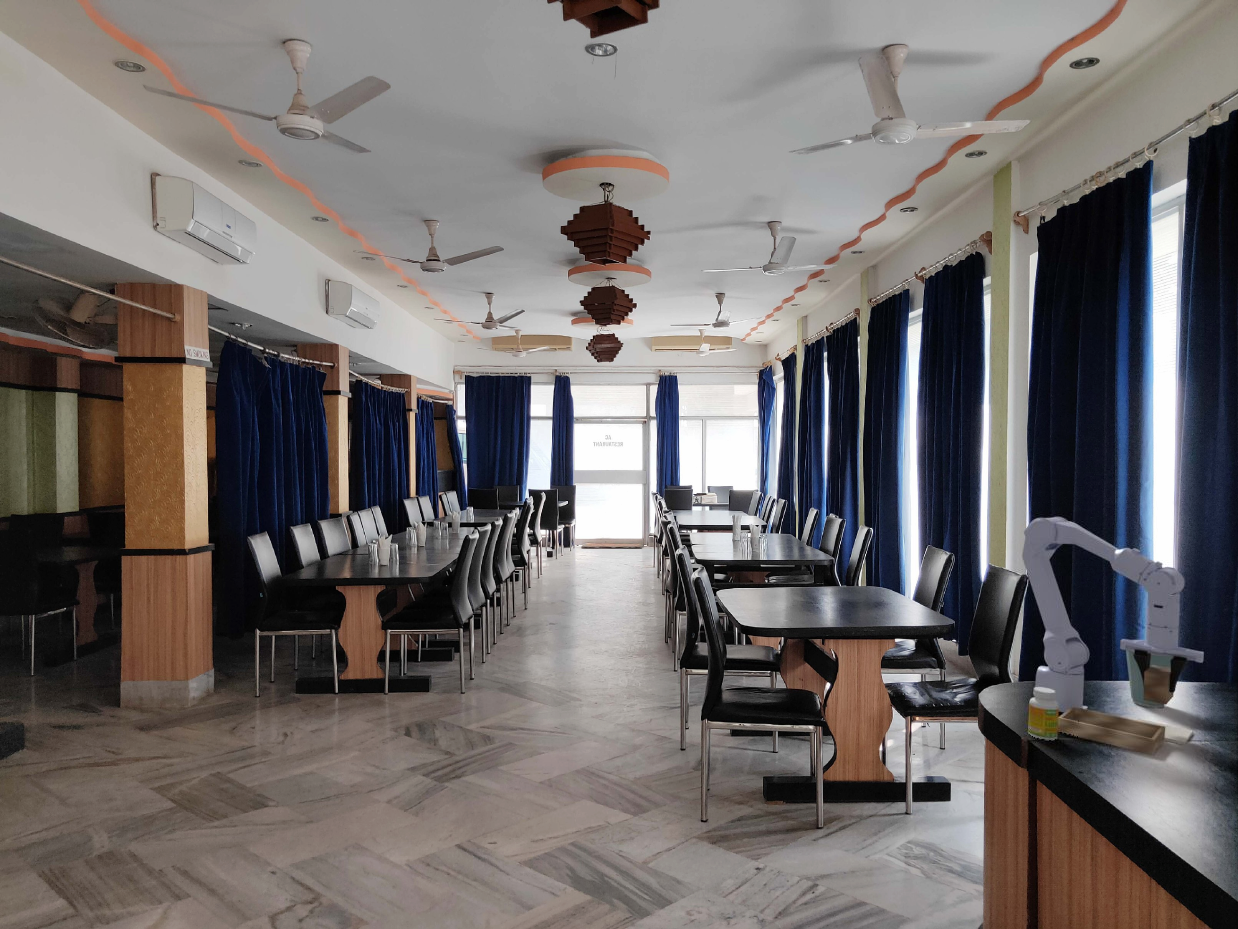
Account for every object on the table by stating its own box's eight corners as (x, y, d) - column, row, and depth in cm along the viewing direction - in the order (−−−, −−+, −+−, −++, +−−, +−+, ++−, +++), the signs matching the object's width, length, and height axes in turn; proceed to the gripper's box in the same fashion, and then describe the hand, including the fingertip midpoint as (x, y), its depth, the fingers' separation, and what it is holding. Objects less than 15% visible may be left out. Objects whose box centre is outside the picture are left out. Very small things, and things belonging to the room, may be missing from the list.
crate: (1057, 731, 170) (1058, 717, 170) (1071, 719, 179) (1072, 706, 179) (1153, 755, 159) (1154, 739, 159) (1164, 741, 167) (1165, 726, 167)
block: (1143, 700, 170) (1144, 671, 170) (1151, 692, 176) (1152, 664, 175) (1165, 704, 167) (1167, 675, 167) (1173, 696, 173) (1174, 668, 173)
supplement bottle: (1046, 742, 164) (1048, 695, 164) (1022, 733, 169) (1024, 687, 168) (1063, 739, 166) (1065, 692, 166) (1038, 730, 171) (1041, 684, 171)
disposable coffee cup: (1120, 704, 191) (1123, 641, 190) (1123, 694, 200) (1126, 633, 199) (1175, 714, 185) (1178, 649, 184) (1175, 703, 193) (1178, 640, 193)
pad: (1127, 732, 172) (1128, 729, 172) (1137, 721, 179) (1138, 718, 179) (1184, 745, 165) (1185, 742, 165) (1192, 733, 172) (1192, 730, 172)
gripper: (1118, 622, 173) (1115, 685, 173) (1200, 634, 163) (1197, 701, 164) (1125, 617, 178) (1123, 678, 179) (1206, 629, 168) (1203, 694, 169)
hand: (1159, 689), depth 171 cm, fingers closed on block, 4 cm apart
